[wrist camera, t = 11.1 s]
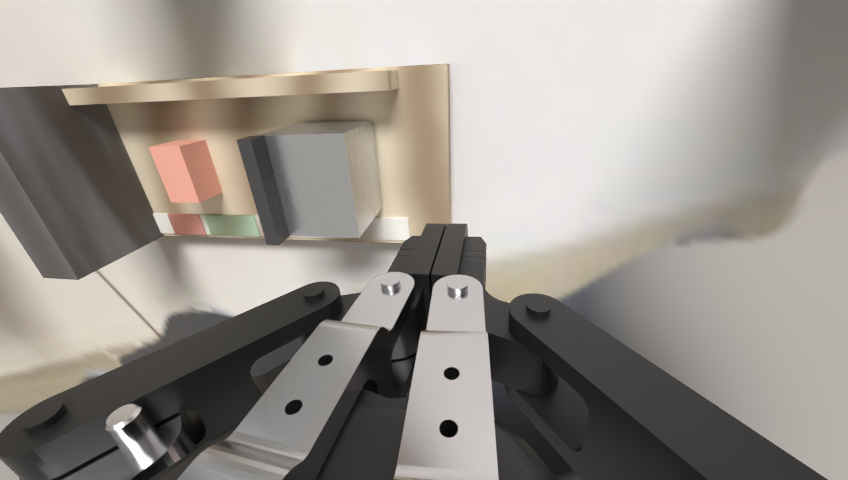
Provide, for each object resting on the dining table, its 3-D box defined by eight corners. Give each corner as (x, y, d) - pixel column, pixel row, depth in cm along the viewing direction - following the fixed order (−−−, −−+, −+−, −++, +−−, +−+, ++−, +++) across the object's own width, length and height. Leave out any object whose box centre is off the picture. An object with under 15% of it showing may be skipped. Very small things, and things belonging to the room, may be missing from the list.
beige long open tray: (448, 64, 21) (429, 60, 14) (451, 235, 26) (437, 301, 19) (85, 85, 26) (-79, 91, 18) (149, 227, 31) (43, 277, 24)
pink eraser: (205, 139, 24) (178, 146, 22) (222, 192, 26) (199, 202, 24) (176, 140, 25) (148, 146, 23) (196, 192, 27) (171, 202, 25)
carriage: (372, 120, 22) (334, 137, 16) (382, 207, 24) (352, 247, 19) (296, 122, 22) (236, 139, 17) (314, 206, 25) (266, 244, 20)
